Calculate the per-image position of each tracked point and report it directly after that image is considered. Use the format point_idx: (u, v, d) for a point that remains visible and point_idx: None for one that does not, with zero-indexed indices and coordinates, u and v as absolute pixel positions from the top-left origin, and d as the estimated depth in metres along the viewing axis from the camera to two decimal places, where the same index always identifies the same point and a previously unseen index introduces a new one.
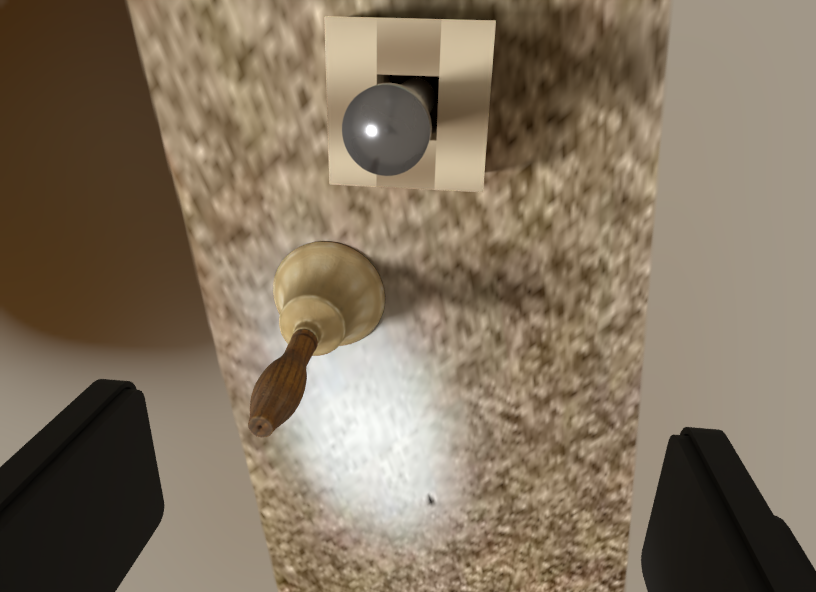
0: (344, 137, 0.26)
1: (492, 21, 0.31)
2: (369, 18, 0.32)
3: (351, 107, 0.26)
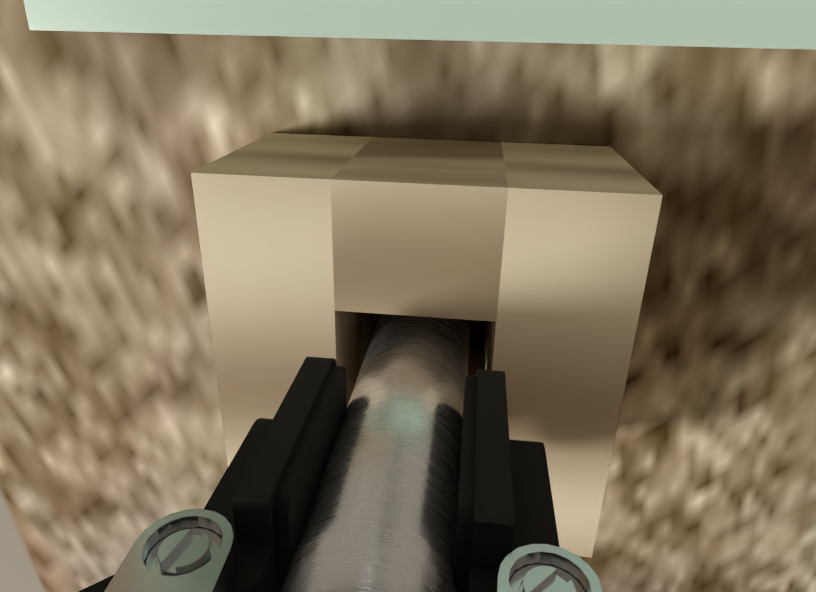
0: None
1: (652, 197, 0.11)
2: (310, 181, 0.12)
3: None
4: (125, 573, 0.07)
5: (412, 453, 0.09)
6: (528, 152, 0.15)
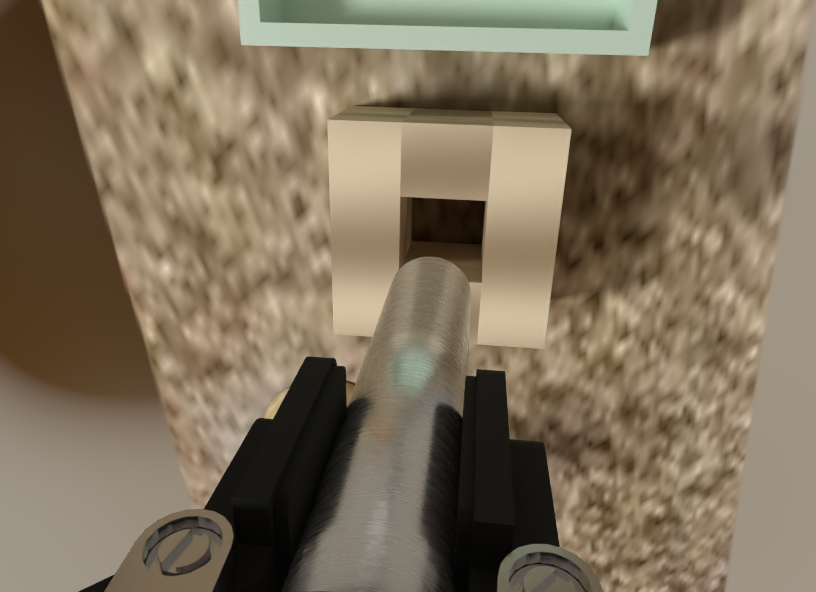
0: None
1: (566, 130, 0.22)
2: (391, 123, 0.22)
3: None
4: (125, 573, 0.07)
5: (412, 453, 0.09)
6: (506, 114, 0.25)
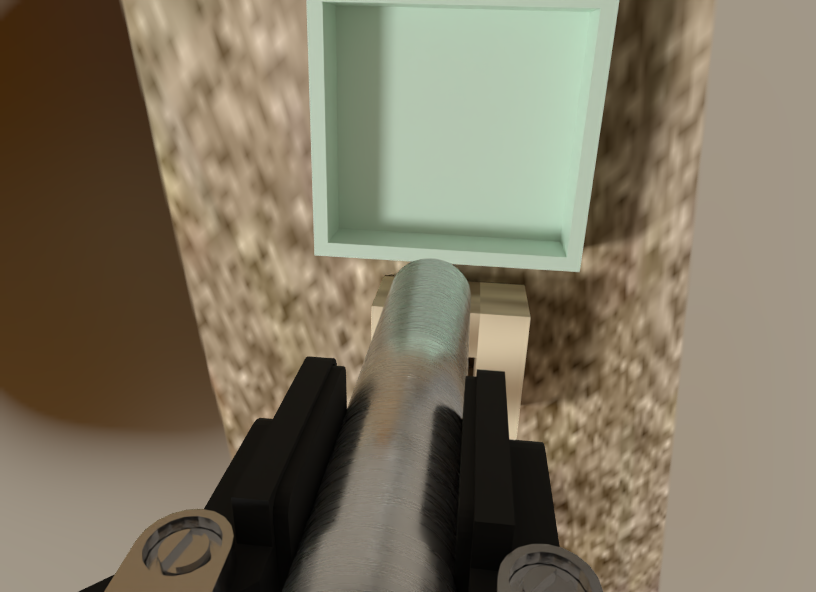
0: None
1: (527, 317, 0.34)
2: None
3: None
4: (125, 573, 0.07)
5: (411, 457, 0.09)
6: (490, 290, 0.37)
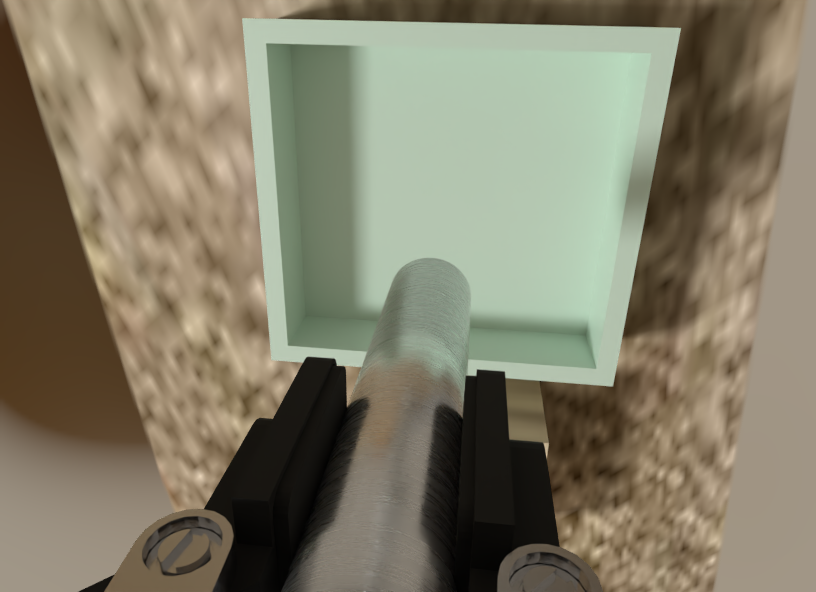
0: None
1: (544, 444, 0.26)
2: None
3: None
4: (125, 573, 0.07)
5: (411, 456, 0.09)
6: None
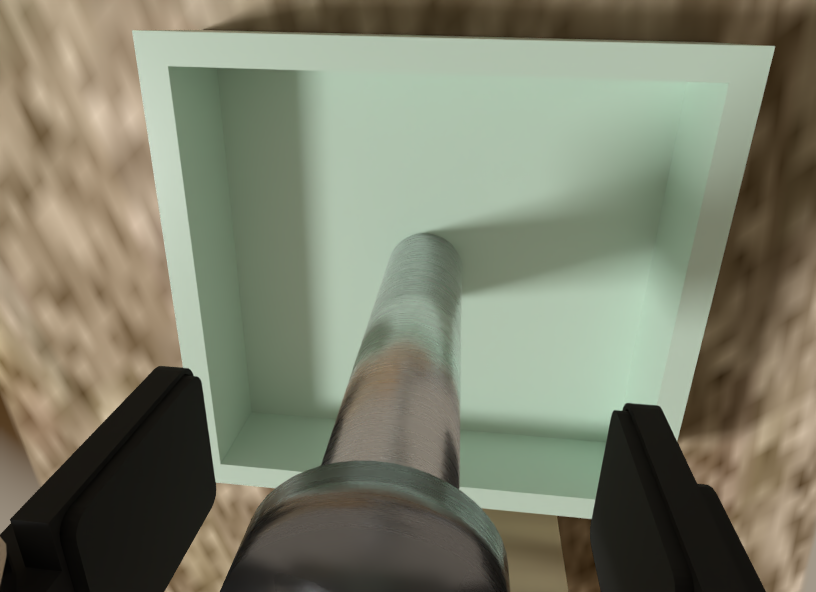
0: None
1: None
2: None
3: (242, 578, 0.07)
4: None
5: (418, 381, 0.11)
6: (498, 510, 0.23)
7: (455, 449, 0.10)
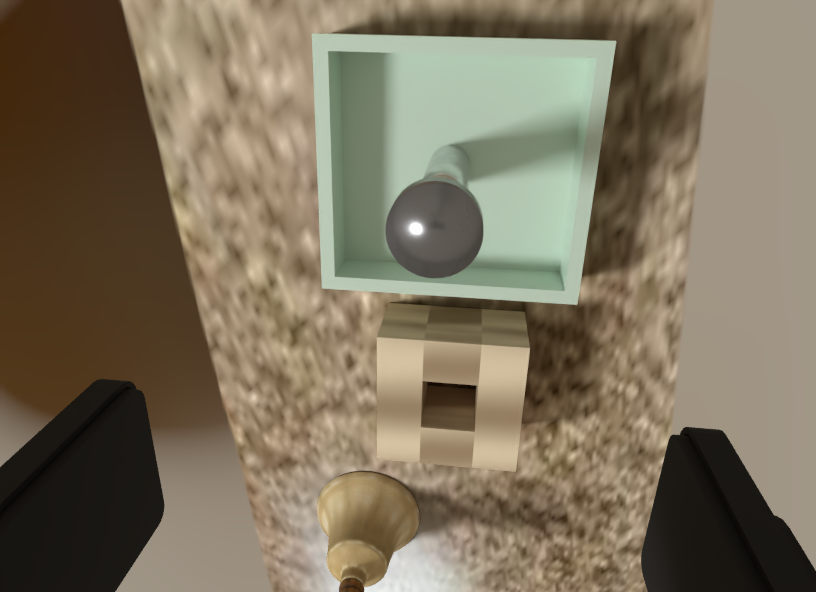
0: (388, 237, 0.24)
1: (527, 348, 0.35)
2: (417, 340, 0.36)
3: (396, 206, 0.23)
4: None
5: (450, 178, 0.27)
6: (491, 318, 0.39)
7: None
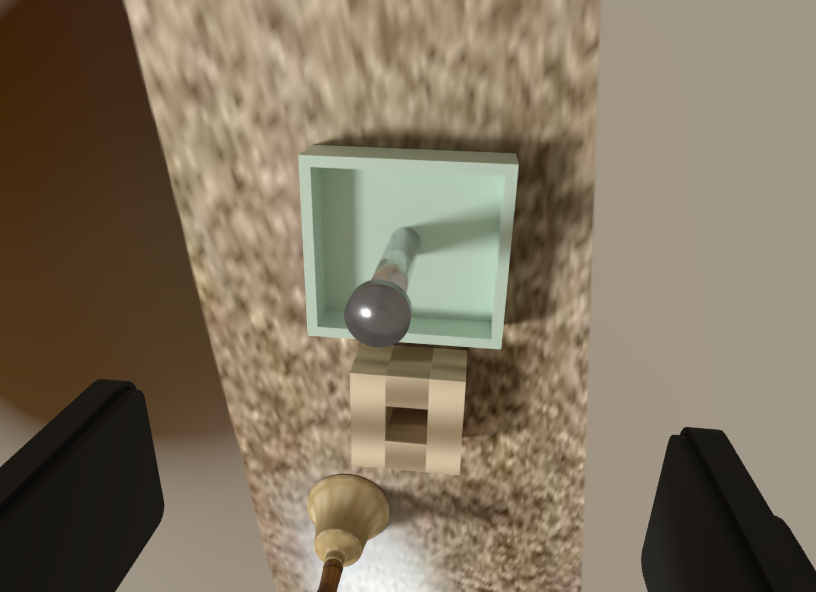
0: (346, 321, 0.35)
1: (463, 382, 0.46)
2: (380, 376, 0.47)
3: (351, 301, 0.34)
4: None
5: (394, 271, 0.38)
6: (440, 356, 0.50)
7: (403, 288, 0.37)
